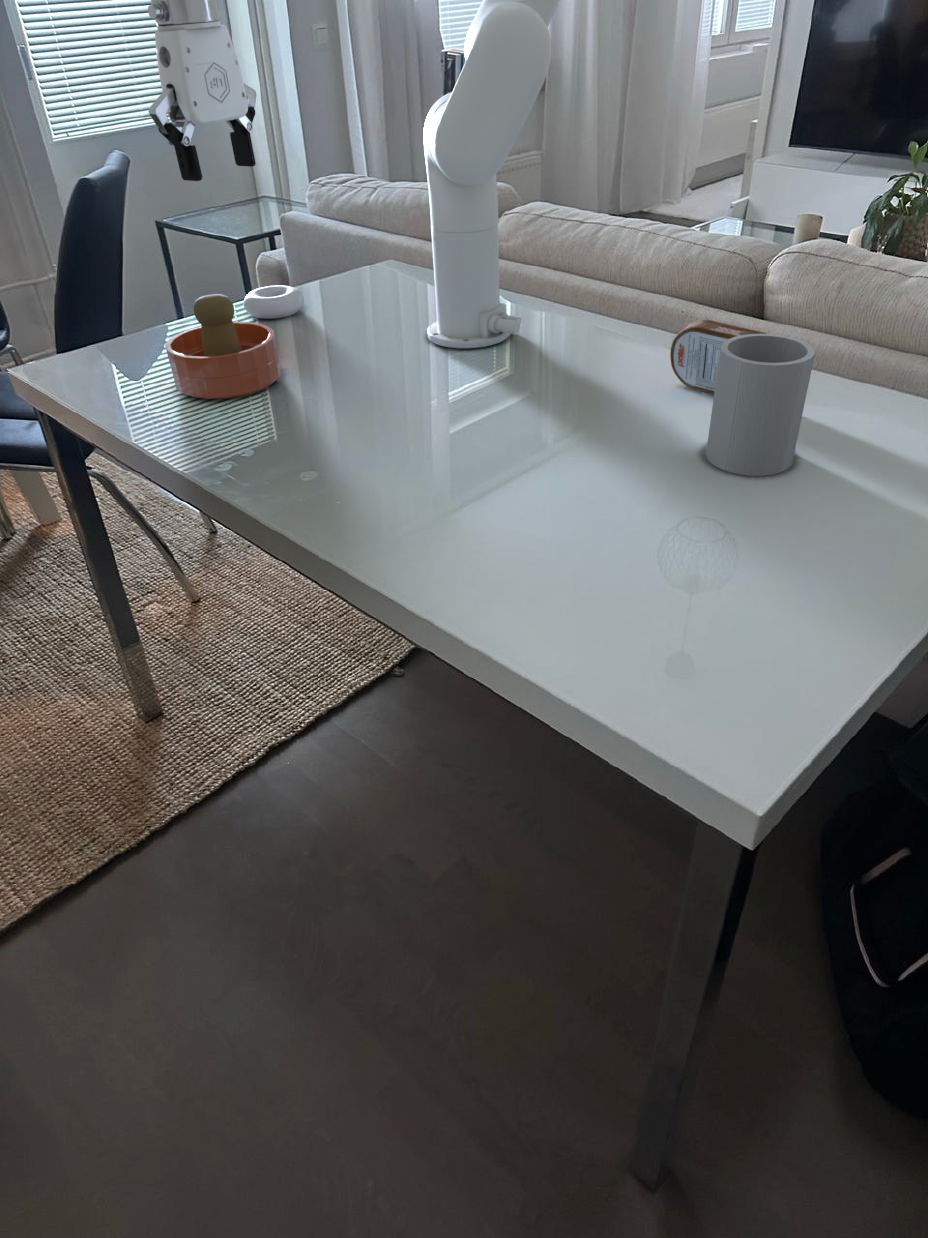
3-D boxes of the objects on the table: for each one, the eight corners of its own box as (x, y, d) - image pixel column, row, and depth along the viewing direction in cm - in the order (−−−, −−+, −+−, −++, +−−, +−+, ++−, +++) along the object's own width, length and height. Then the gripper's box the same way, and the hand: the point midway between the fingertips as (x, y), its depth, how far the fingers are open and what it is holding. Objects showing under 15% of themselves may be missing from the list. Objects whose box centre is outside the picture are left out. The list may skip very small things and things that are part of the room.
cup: (689, 455, 95) (702, 348, 87) (741, 431, 99) (758, 327, 92) (757, 484, 89) (777, 372, 81) (809, 457, 93) (833, 348, 86)
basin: (302, 373, 120) (295, 330, 116) (227, 410, 111) (217, 365, 107) (231, 356, 127) (223, 315, 123) (154, 390, 118) (143, 347, 114)
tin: (783, 404, 104) (796, 335, 99) (770, 412, 102) (783, 343, 97) (676, 376, 113) (683, 312, 108) (663, 384, 111) (669, 319, 106)
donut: (240, 323, 140) (300, 320, 139) (235, 302, 138) (296, 298, 137) (253, 304, 148) (310, 301, 147) (248, 284, 146) (306, 280, 145)
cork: (258, 371, 120) (242, 290, 113) (236, 387, 115) (218, 304, 109) (221, 367, 122) (204, 288, 115) (198, 383, 117) (178, 301, 110)
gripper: (151, 17, 95) (190, 187, 105) (259, 7, 106) (285, 161, 116) (107, 20, 98) (150, 184, 108) (217, 10, 109) (245, 159, 120)
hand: (220, 172), depth 112 cm, fingers open, 9 cm apart
